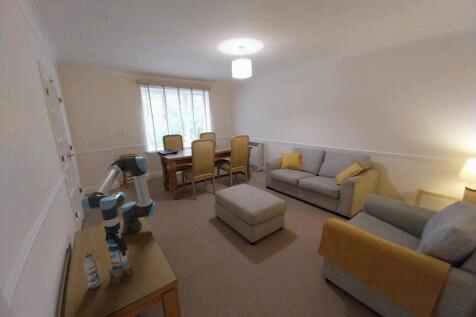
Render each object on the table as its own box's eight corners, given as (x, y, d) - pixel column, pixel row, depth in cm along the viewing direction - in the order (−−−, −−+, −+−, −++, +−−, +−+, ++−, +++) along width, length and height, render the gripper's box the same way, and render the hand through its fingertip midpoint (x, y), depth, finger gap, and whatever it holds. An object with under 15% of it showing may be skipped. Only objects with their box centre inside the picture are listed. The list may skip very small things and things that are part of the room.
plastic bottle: (94, 280, 117) (87, 251, 112) (105, 281, 116) (98, 252, 112) (85, 290, 111) (77, 259, 106) (96, 291, 110) (89, 260, 105)
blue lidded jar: (130, 266, 117) (124, 236, 113) (113, 274, 112) (107, 243, 107) (126, 258, 124) (121, 230, 119) (110, 266, 118) (104, 236, 113)
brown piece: (126, 267, 126) (124, 258, 124) (134, 274, 121) (133, 264, 119) (109, 278, 118) (107, 268, 116) (117, 286, 113) (115, 275, 111)
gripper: (94, 220, 115) (101, 252, 120) (116, 233, 102) (122, 268, 106) (108, 215, 121) (114, 245, 126) (130, 226, 108) (136, 259, 112)
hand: (118, 256), depth 116 cm, fingers open, 13 cm apart
